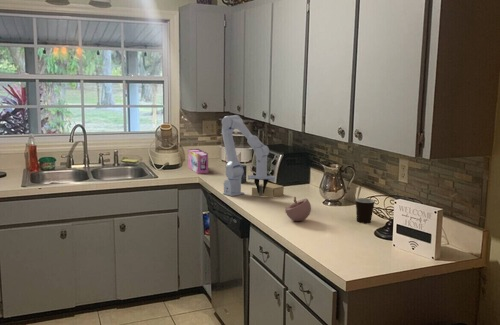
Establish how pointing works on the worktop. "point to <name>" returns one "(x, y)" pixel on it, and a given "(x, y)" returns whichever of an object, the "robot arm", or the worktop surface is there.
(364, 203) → the coffee mug
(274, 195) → the carton
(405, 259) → the worktop surface
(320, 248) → the worktop surface
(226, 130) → the robot arm
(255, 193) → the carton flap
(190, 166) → the gum box
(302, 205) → the mortar and pestle
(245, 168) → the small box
